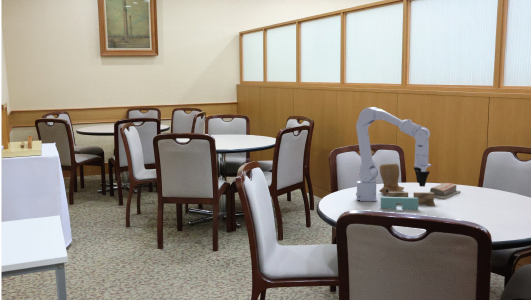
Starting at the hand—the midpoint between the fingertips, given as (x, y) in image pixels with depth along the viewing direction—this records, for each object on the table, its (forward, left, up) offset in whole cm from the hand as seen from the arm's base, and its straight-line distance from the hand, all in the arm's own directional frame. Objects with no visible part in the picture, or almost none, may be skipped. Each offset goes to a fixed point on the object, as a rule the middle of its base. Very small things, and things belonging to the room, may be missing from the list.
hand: (420, 184), depth 211 cm
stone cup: (-12, +23, -10) cm, 28 cm away
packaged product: (+13, +22, -10) cm, 28 cm away
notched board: (-4, +3, -10) cm, 11 cm away
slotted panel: (-10, -7, -10) cm, 15 cm away
